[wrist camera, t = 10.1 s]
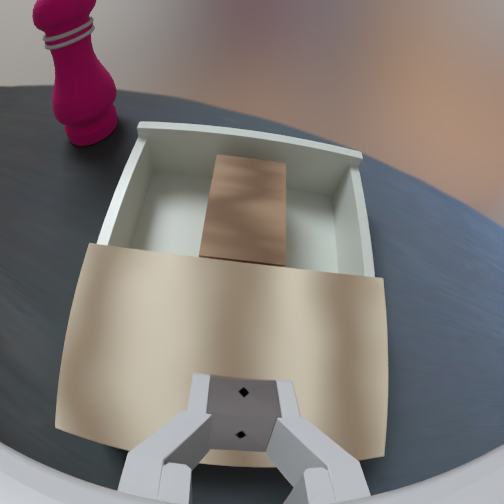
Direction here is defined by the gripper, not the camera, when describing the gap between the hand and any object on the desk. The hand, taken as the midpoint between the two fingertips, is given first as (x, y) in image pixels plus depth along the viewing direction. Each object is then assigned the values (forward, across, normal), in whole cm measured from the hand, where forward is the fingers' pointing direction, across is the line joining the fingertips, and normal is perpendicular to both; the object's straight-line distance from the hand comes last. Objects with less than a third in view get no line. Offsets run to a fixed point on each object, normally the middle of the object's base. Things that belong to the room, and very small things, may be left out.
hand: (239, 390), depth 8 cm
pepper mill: (+25, +18, -9) cm, 32 cm away
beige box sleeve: (+9, 0, +7) cm, 12 cm away
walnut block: (+11, 0, +1) cm, 11 cm away
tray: (+17, 0, -1) cm, 17 cm away
